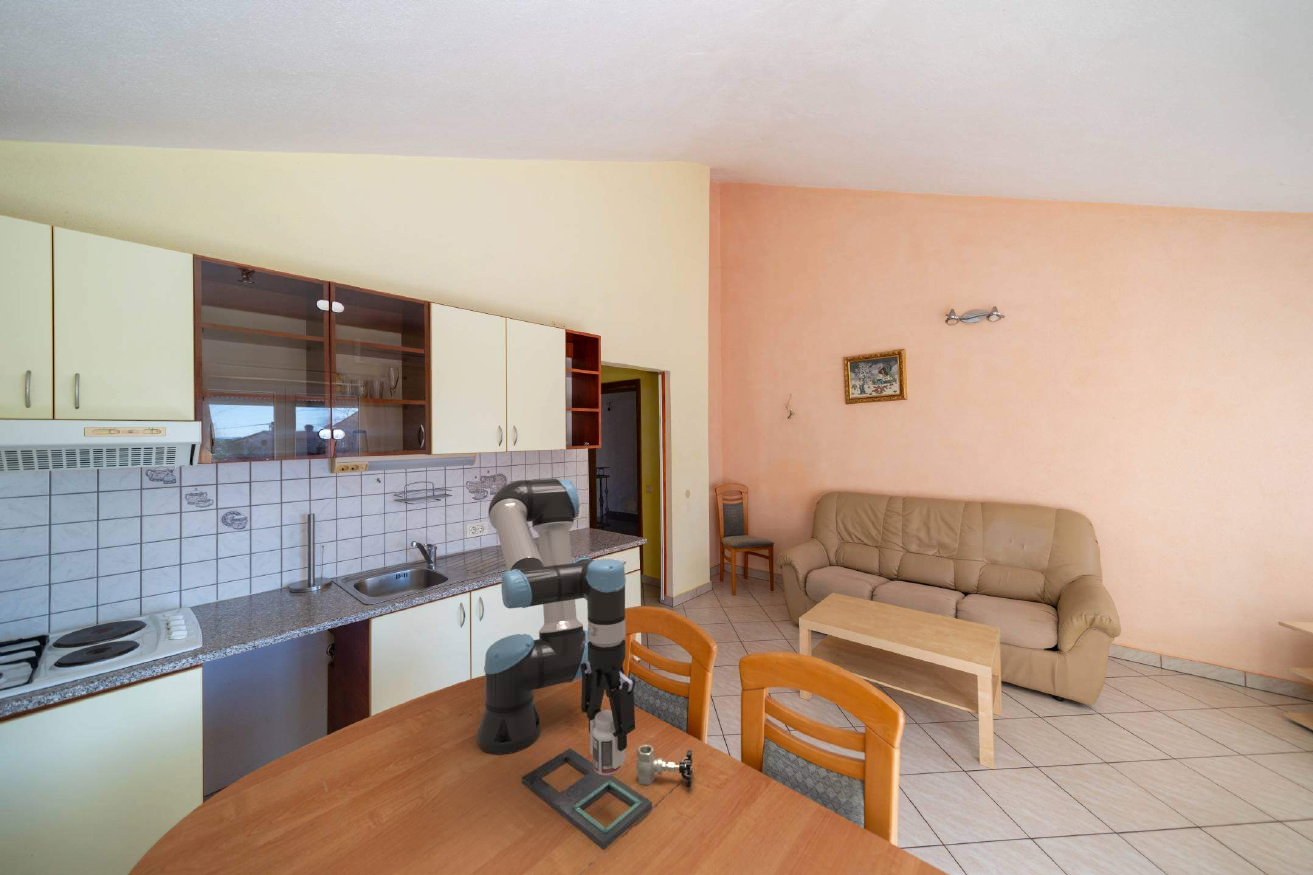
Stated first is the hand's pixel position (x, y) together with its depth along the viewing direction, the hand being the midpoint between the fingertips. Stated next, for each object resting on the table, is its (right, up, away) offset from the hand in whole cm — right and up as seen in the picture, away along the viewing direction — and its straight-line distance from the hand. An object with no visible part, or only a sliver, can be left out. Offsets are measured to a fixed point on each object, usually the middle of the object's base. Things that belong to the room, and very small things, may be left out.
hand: (607, 757), depth 95 cm
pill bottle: (0, -2, 0) cm, 2 cm away
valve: (+11, -11, +9) cm, 18 cm away
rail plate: (-5, -11, +5) cm, 13 cm away
